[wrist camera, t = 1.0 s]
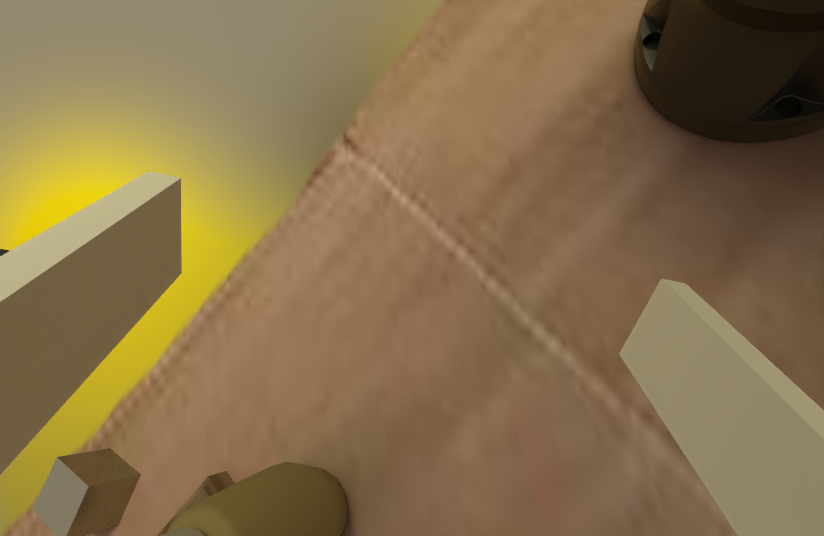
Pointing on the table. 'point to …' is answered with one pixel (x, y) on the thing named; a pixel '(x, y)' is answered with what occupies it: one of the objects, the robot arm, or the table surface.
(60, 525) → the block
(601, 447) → the table surface
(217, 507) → the squeeze bottle
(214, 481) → the stand
